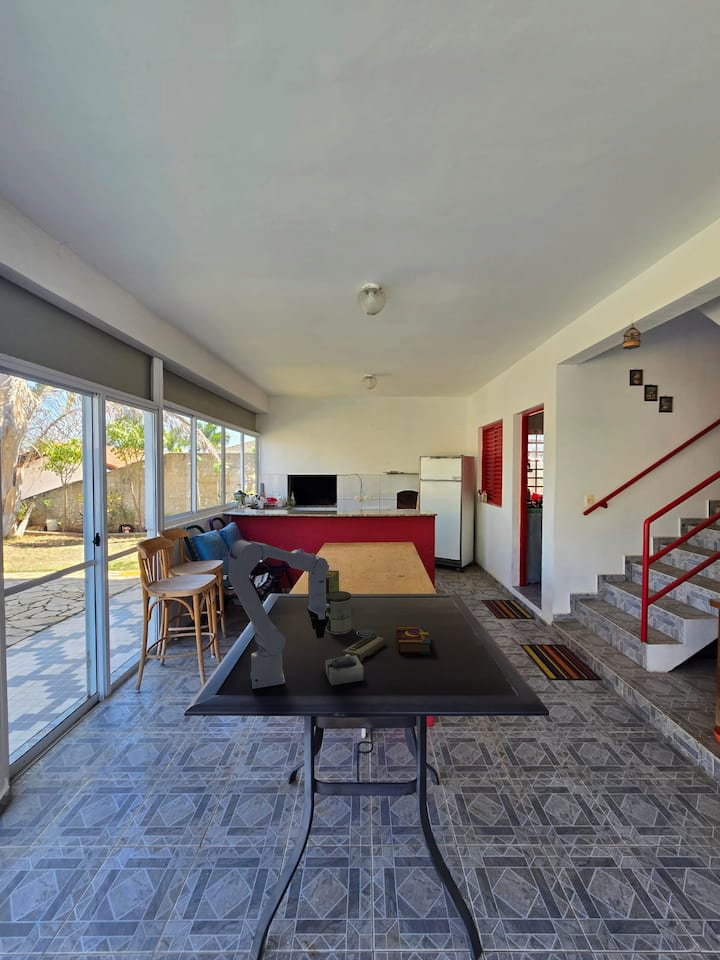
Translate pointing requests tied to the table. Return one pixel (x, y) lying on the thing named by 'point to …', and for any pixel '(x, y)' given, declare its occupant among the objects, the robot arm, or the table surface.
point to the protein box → (330, 581)
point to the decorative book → (412, 640)
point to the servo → (343, 661)
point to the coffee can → (338, 612)
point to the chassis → (344, 672)
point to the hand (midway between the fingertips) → (318, 633)
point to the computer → (365, 647)
